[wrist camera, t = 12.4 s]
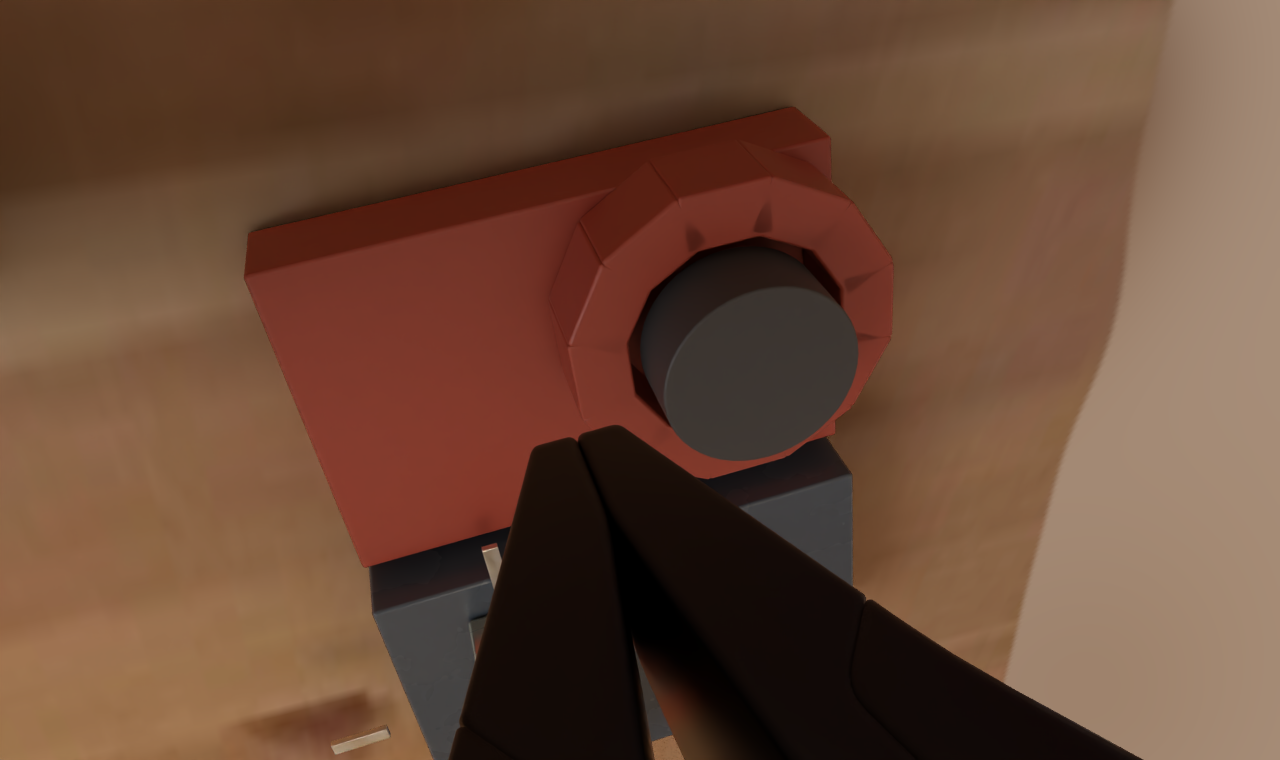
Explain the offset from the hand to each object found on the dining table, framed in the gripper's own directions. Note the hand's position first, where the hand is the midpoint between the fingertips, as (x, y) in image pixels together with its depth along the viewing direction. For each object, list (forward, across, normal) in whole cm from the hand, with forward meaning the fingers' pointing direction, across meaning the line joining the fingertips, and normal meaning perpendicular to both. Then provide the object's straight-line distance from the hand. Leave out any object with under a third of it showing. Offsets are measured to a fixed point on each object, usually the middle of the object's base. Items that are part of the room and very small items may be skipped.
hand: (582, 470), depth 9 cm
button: (+9, -4, +6) cm, 12 cm away
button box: (+13, -1, +6) cm, 15 cm away
